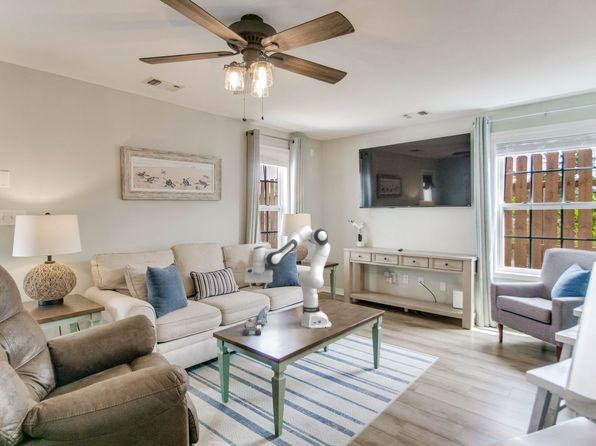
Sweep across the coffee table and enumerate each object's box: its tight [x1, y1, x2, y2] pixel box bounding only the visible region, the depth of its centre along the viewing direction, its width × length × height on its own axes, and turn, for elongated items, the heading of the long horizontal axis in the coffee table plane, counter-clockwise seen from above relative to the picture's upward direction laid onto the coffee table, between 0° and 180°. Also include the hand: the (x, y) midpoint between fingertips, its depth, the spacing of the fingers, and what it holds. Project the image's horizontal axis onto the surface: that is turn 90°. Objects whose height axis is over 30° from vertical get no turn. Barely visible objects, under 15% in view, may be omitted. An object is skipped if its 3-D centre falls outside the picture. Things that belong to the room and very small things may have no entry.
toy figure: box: [252, 305, 270, 327], centre depth 246 cm, size 17×10×15 cm, turn 168°
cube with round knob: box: [245, 318, 255, 328], centre depth 230 cm, size 5×5×7 cm
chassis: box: [242, 324, 263, 337], centre depth 230 cm, size 12×11×4 cm
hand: (258, 288), depth 237 cm, fingers open, 8 cm apart
